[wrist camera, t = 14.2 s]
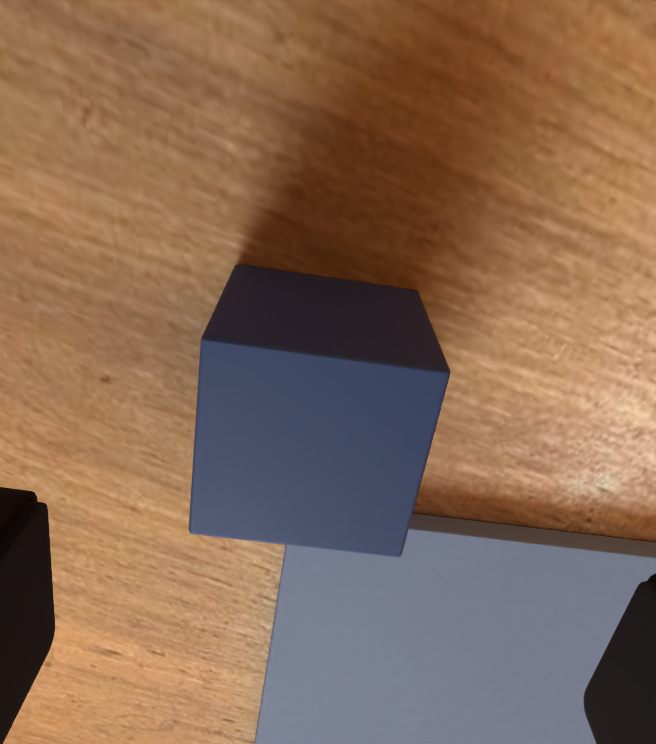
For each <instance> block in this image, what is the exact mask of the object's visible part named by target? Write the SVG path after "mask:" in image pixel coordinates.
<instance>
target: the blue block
mask: <svg viewBox="0 0 656 744" xmlns="http://www.w3.org/2000/svg"><path fill="white" fill-rule="evenodd" d="M449 376H450V369H449V366H448V364H447V362H446V359H445V357H444V354H443V352H442V349H441V347H440V344H439V342H438V340H437V337H436V335H435V332H434V330H433V327H432V325H431V322H430V320H429V318H428V315H427V313H426V310H425V308H424V305H423V303H422V300H421V298H420V295H419V293H418V291H416V290H411V289H404V288H397V287H391V286H384V285H377V284H370V283H363V282H356V281H349V280H342V279H336V278H329V277H322V276H315V275H308V274H301V273H294V272H287V271H280V270H274V269H267V268H260V267H253V266H246V265H239V264H237V265H235V267H234V269H233V271H232V273H231V275H230V277H229V280H228V282H227V284H226V286H225V288H224V290H223V293H222V295H221V297H220V299H219V301H218V303H217V306H216V308H215V310H214V312H213V314H212V317H211V319H210V321H209V323H208V325H207V327H206V330H205V332H204V334H203V336H202V338H201V349H200V365H199V380H198V395H197V411H196V426H195V441H194V457H193V472H192V487H191V502H190V518H189V532H190V533H191V534H197V535H206V536H214V537H223V538H232V539H241V540H249V541H258V542H267V543H275V544H284V545H293V546H302V547H310V548H319V549H328V550H337V551H345V552H354V553H363V554H372V555H380V556H389V557H400V556H401V555H402V552H403V548H404V544H405V541H406V537H407V533H408V530H409V526H410V522H411V518H412V515H413V511H414V507H415V503H416V500H417V496H418V492H419V488H420V485H421V481H422V477H423V473H424V470H425V466H426V462H427V459H428V455H429V451H430V447H431V444H432V440H433V436H434V432H435V429H436V425H437V421H438V417H439V414H440V410H441V406H442V402H443V399H444V395H445V391H446V388H447V384H448V380H449Z"/></svg>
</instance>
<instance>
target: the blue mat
mask: <svg viewBox="0 0 656 744" xmlns="http://www.w3.org/2000/svg"><path fill="white" fill-rule="evenodd" d="M653 574H656V542H648V541H640V540H631V539H623V538H615V537H606V536H598V535H590V534H581V533H573V532H565V531H556V530H548V529H540V528H531V527H523V526H514V525H506V524H498V523H489V522H481V521H473V520H464V519H456V518H448V517H439V516H431V515H423V514H414V513H413V515H412V518H411V522H410V526H409V530H408V533H407V537H406V541H405V544H404V548H403V552H402V555H401V556H400V557H389V556H380V555H372V554H363V553H354V552H345V551H337V550H328V549H319V548H310V547H302V546H293V545H286V546H285V553H284V559H283V565H282V572H281V578H280V584H279V591H278V597H277V604H276V610H275V616H274V623H273V629H272V636H271V642H270V648H269V655H268V661H267V667H266V674H265V680H264V687H263V693H262V699H261V706H260V712H259V718H258V725H257V731H256V738H255V744H596V741H595V739H594V736H593V734H592V731H591V728H590V726H589V723H588V720H587V718H586V715H585V711H584V700H583V699H584V692H585V690H586V687H587V685H588V683H589V681H590V679H591V677H592V675H593V673H594V671H595V669H596V668H597V666H598V664H599V662H600V660H601V658H602V656H603V654H604V652H605V650H606V648H607V646H608V644H609V642H610V640H611V638H612V636H613V634H614V632H615V630H616V628H617V626H618V624H619V622H620V620H621V618H622V616H623V614H624V612H625V610H626V608H627V606H628V604H629V602H630V600H631V598H632V596H633V594H634V592H635V590H636V588H637V586H638V585H639V584H640V583H641V582H643V581H647V580H648V579H649V577H650V576H652V575H653Z"/></svg>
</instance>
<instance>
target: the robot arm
mask: <svg viewBox="0 0 656 744" xmlns="http://www.w3.org/2000/svg"><path fill="white" fill-rule="evenodd" d="M54 632H55V617H54V601H53V585H52V570H51V554H50V538H49V522H48V509H47V505H46V504H45V503H42V502H37V496H36V494H35V493H34V492H32V491H26V490H18V489H11V488H3V487H0V744H3V742H4V740H5V738H6V736H7V734H8V732H9V730H10V728H11V726H12V724H13V722H14V720H15V718H16V716H17V714H18V712H19V710H20V708H21V706H22V704H23V702H24V700H25V698H26V696H27V694H28V692H29V690H30V688H31V686H32V684H33V682H34V680H35V678H36V676H37V674H38V672H39V670H40V668H41V666H42V664H43V662H44V660H45V658H46V656H47V654H48V652H49V650H50V647H51V644H52V641H53V637H54ZM583 700H584V711H585V715H586V718H587V720H588V723H589V726H590V728H591V731H592V734H593V736H594V739H595V741H596V744H656V574H653V575H652V576H650V577H649V579H648V580H647V581H643V582H641V583H640V584H639V585H638V586H637V588H636V590H635V592H634V594H633V596H632V598H631V600H630V602H629V604H628V606H627V608H626V610H625V612H624V614H623V616H622V618H621V620H620V622H619V624H618V626H617V628H616V630H615V632H614V634H613V636H612V638H611V640H610V642H609V644H608V646H607V648H606V650H605V652H604V654H603V656H602V658H601V660H600V662H599V664H598V666H597V668H596V669H595V671H594V673H593V675H592V677H591V679H590V681H589V683H588V685H587V687H586V690H585V692H584V699H583Z"/></svg>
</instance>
